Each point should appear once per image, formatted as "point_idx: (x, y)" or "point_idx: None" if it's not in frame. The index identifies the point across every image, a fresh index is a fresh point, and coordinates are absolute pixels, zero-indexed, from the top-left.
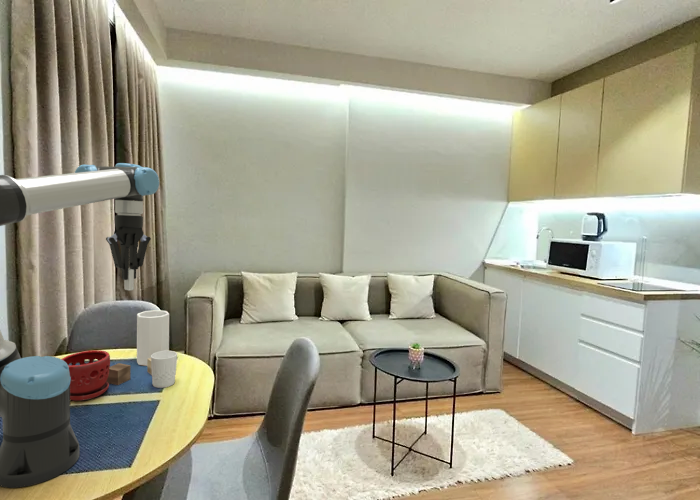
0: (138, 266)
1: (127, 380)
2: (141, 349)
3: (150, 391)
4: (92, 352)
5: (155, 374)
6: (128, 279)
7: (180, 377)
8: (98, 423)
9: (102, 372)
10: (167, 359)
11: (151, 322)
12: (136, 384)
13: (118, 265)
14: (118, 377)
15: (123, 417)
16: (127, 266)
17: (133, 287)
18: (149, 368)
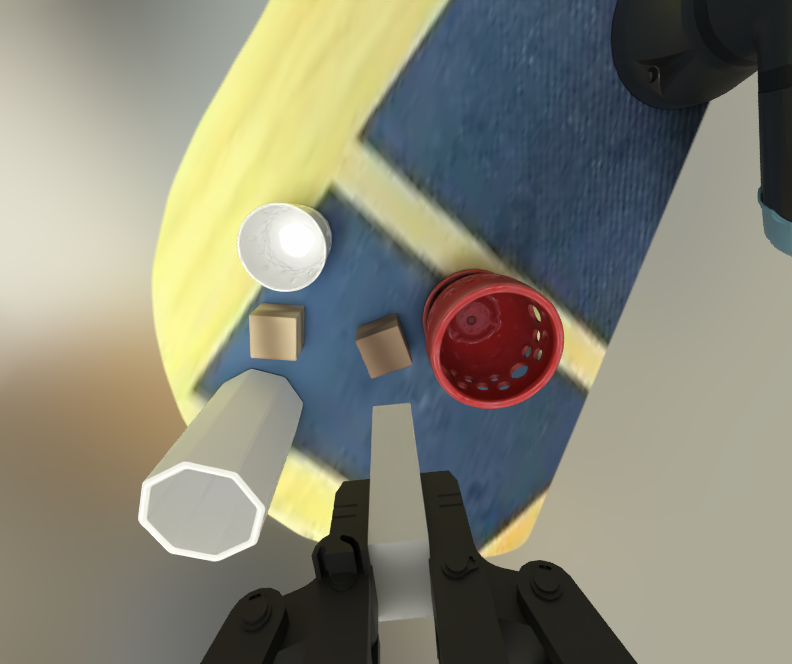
0: (289, 600)
1: (367, 323)
2: (288, 421)
3: (352, 212)
4: (457, 389)
5: (327, 229)
6: (418, 466)
7: None
8: (521, 126)
9: (467, 280)
10: (289, 204)
11: (235, 457)
12: (359, 284)
13: (584, 598)
14: (394, 320)
15: (469, 109)
16: (453, 583)
17: (373, 417)
18: (301, 335)
